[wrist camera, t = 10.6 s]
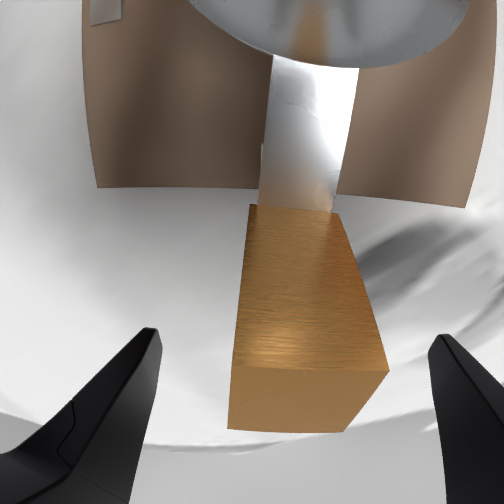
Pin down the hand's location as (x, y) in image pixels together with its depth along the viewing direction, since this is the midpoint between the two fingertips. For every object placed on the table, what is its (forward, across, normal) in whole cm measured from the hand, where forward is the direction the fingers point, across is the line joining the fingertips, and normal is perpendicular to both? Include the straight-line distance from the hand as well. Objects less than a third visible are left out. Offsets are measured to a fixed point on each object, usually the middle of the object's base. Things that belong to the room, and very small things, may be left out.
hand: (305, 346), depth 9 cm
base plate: (+9, 0, -12) cm, 15 cm away
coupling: (+5, 0, -8) cm, 10 cm away
